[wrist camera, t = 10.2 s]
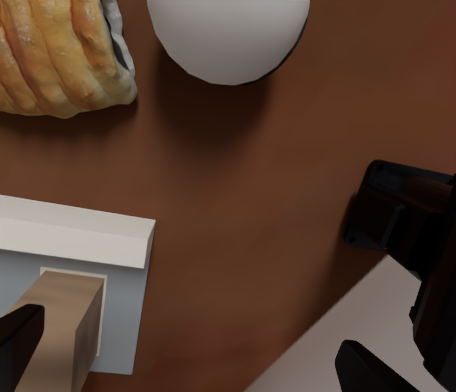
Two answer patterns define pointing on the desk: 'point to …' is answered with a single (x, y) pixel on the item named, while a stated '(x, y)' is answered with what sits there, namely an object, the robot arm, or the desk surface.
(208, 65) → the white egg
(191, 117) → the desk surface
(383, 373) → the robot arm
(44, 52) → the pastry
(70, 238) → the corner arena
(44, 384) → the walnut block
